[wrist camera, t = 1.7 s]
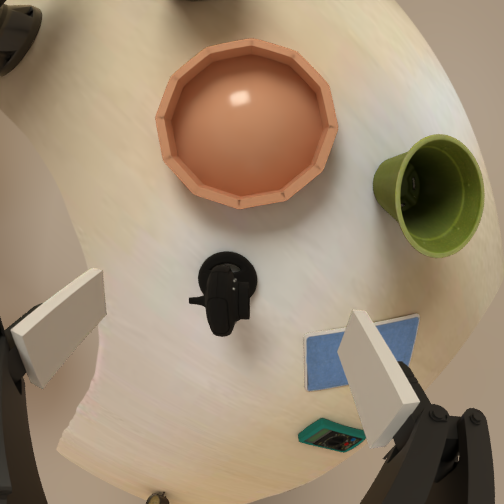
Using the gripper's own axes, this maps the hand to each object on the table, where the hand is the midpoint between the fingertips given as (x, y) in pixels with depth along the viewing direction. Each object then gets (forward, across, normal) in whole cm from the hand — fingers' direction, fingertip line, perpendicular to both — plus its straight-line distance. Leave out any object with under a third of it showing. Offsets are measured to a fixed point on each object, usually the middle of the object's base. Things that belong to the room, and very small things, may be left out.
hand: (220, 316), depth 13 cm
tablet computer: (+22, +21, -18) cm, 35 cm away
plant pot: (+21, +18, +9) cm, 29 cm away
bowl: (+21, -2, +12) cm, 24 cm away
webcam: (+21, -1, -7) cm, 22 cm away
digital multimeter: (+22, +24, -40) cm, 52 cm away
